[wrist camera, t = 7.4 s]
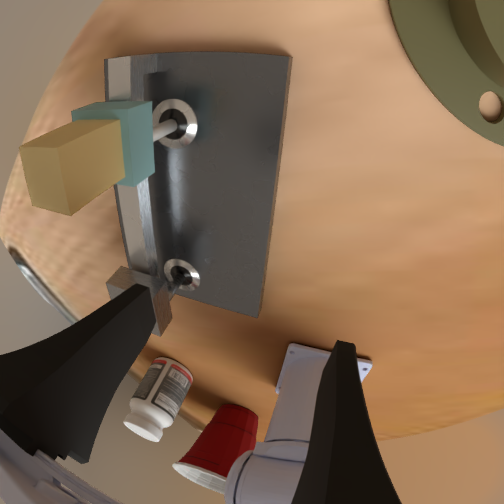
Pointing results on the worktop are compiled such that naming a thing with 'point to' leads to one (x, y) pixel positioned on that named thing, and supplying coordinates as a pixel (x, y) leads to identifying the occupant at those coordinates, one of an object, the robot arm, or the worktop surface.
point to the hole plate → (215, 171)
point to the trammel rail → (139, 204)
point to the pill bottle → (158, 398)
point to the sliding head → (92, 154)
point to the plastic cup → (219, 447)
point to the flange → (457, 54)
